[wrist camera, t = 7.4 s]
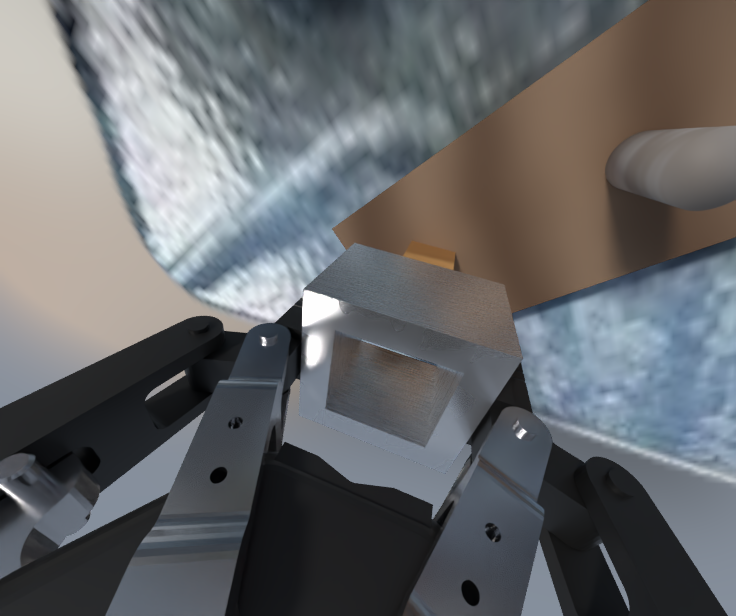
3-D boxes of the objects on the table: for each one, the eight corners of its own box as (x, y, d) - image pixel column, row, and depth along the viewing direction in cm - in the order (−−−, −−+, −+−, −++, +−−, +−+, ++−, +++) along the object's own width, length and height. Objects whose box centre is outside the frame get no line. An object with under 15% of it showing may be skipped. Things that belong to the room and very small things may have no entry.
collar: (354, 242, 10) (303, 289, 7) (504, 284, 10) (523, 358, 6) (339, 349, 14) (298, 415, 10) (451, 388, 13) (445, 474, 9)
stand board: (725, -55, 9) (1007, -267, 4) (768, 207, 12) (970, 252, 7) (341, 223, 19) (295, 252, 14) (415, 335, 21) (399, 392, 16)
